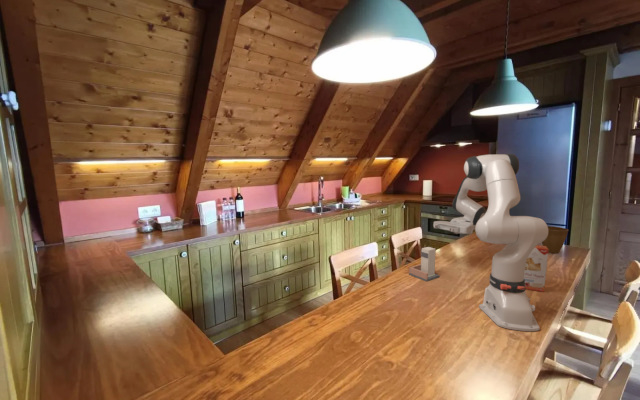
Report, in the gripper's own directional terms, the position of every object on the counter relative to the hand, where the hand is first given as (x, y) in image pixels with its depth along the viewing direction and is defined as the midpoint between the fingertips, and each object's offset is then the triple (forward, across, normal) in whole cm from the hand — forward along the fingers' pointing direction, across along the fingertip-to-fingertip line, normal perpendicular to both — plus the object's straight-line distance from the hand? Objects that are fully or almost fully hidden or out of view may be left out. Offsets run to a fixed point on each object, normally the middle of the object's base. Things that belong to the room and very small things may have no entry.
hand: (442, 228), depth 160 cm
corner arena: (+12, -2, +24) cm, 27 cm away
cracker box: (-17, +34, +25) cm, 46 cm away
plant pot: (-92, +17, +24) cm, 96 cm away
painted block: (+11, 0, +23) cm, 26 cm away
